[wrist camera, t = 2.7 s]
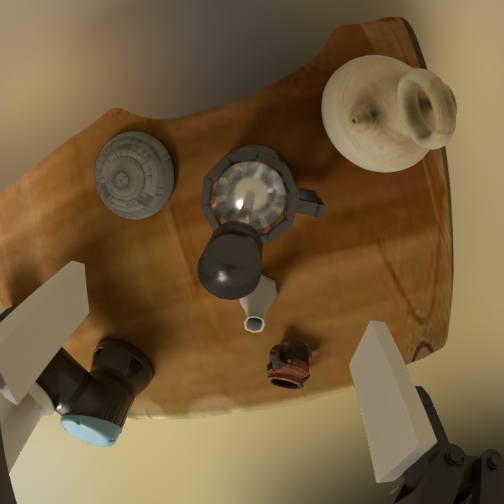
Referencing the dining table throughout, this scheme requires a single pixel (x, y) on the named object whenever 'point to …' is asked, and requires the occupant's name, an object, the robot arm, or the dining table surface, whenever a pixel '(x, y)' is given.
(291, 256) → the dining table surface
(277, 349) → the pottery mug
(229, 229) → the plunger
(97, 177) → the flying saucer
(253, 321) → the flask
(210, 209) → the press carafe
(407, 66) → the jug
